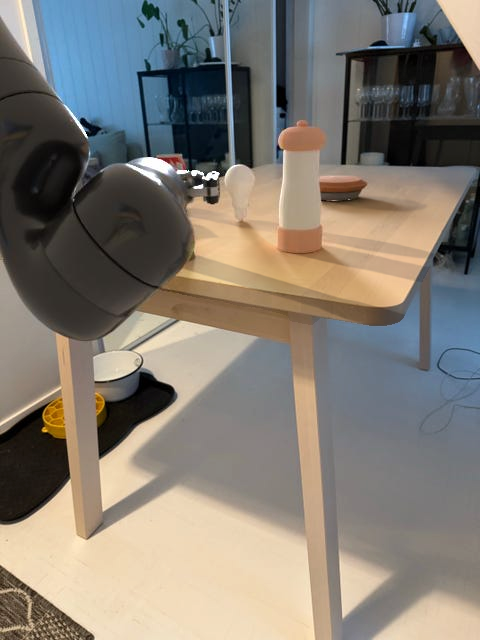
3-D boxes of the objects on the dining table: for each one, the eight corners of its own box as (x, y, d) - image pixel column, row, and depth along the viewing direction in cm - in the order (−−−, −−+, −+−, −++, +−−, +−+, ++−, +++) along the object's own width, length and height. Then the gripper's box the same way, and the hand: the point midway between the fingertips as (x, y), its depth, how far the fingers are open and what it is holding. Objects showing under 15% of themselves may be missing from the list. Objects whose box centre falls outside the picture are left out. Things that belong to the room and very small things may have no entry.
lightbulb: (255, 223, 92) (254, 166, 87) (225, 224, 92) (222, 166, 88) (256, 217, 97) (255, 162, 93) (227, 217, 98) (225, 163, 93)
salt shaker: (295, 239, 80) (297, 119, 72) (330, 246, 76) (337, 119, 68) (267, 248, 76) (267, 121, 68) (303, 256, 71) (307, 121, 63)
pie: (298, 202, 111) (299, 181, 109) (308, 191, 124) (309, 172, 122) (364, 204, 107) (366, 181, 105) (367, 192, 120) (369, 172, 118)
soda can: (193, 206, 111) (189, 153, 106) (183, 212, 104) (178, 156, 99) (165, 205, 112) (160, 153, 107) (154, 211, 106) (148, 156, 101)
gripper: (219, 158, 41) (217, 146, 55) (56, 165, 40) (97, 151, 55) (223, 241, 44) (220, 209, 58) (72, 248, 43) (107, 214, 58)
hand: (161, 181), depth 57 cm, fingers open, 8 cm apart
